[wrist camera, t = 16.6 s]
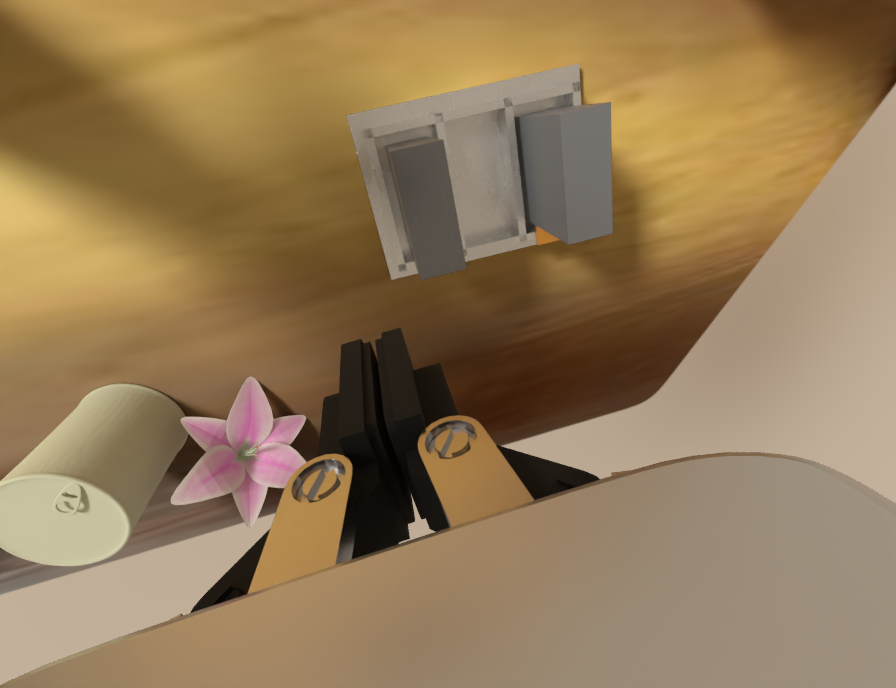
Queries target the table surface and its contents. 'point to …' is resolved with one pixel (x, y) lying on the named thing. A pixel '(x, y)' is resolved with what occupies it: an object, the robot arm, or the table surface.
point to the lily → (242, 453)
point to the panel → (567, 170)
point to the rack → (454, 171)
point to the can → (90, 477)
